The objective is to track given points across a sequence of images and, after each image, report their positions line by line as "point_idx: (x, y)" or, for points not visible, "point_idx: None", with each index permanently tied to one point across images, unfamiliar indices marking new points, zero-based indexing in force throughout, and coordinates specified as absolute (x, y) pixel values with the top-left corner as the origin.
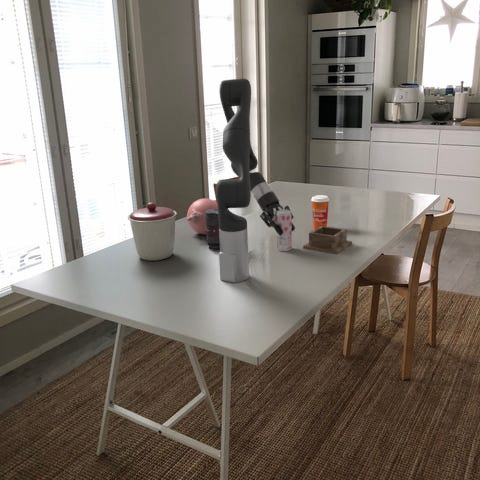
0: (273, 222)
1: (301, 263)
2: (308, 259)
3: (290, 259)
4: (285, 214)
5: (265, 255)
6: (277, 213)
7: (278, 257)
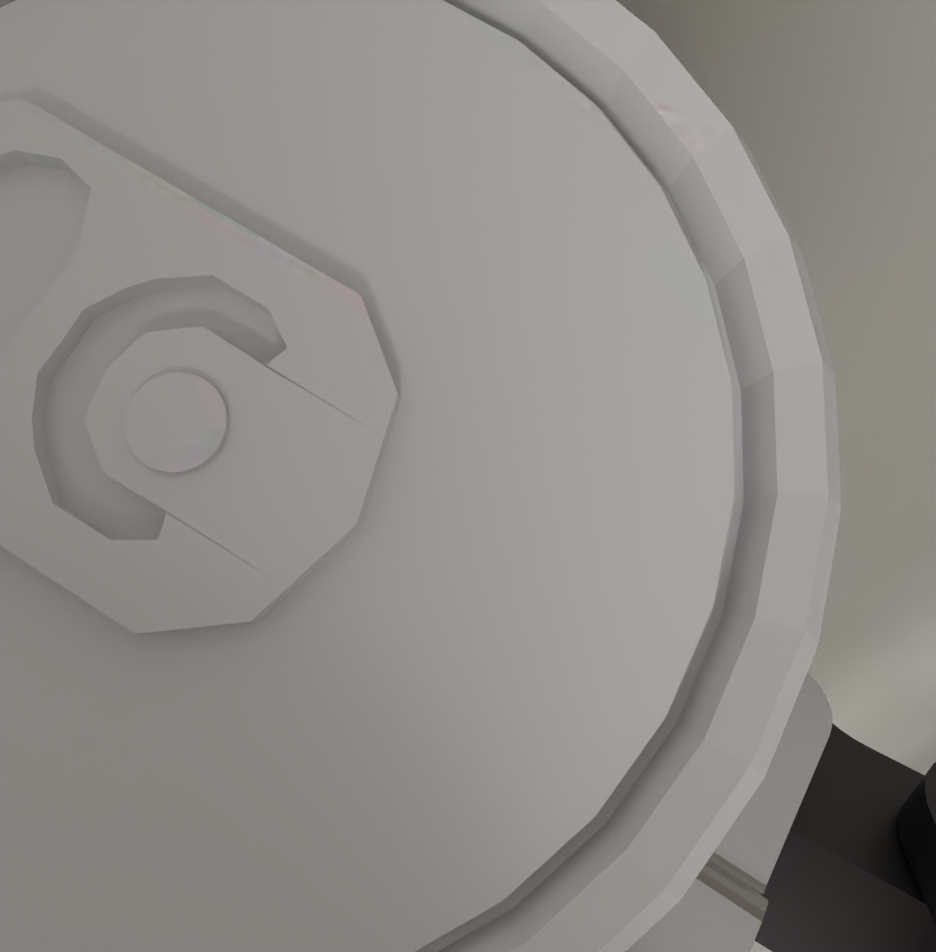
0: (928, 786)
1: (891, 10)
2: (679, 6)
3: (834, 233)
4: (630, 68)
5: (910, 719)
6: (714, 797)
7: (865, 453)
